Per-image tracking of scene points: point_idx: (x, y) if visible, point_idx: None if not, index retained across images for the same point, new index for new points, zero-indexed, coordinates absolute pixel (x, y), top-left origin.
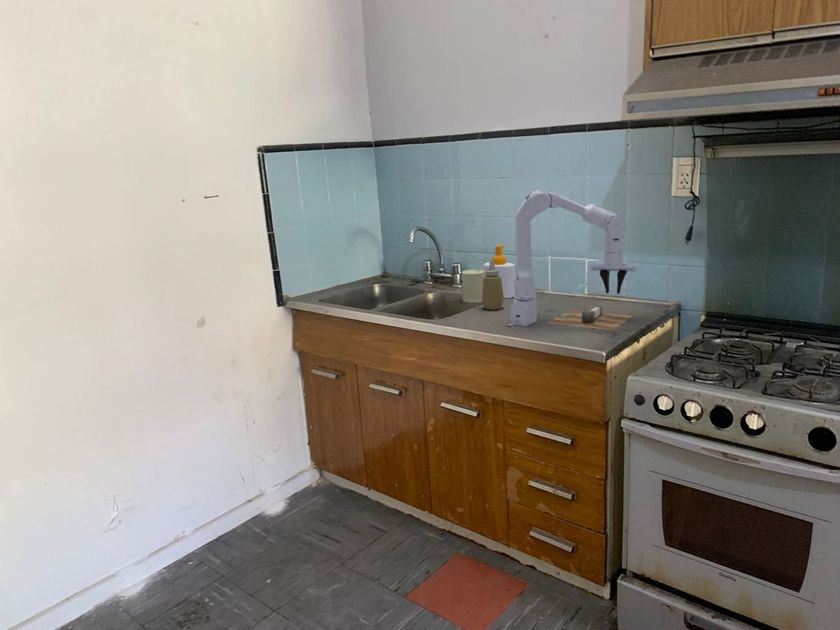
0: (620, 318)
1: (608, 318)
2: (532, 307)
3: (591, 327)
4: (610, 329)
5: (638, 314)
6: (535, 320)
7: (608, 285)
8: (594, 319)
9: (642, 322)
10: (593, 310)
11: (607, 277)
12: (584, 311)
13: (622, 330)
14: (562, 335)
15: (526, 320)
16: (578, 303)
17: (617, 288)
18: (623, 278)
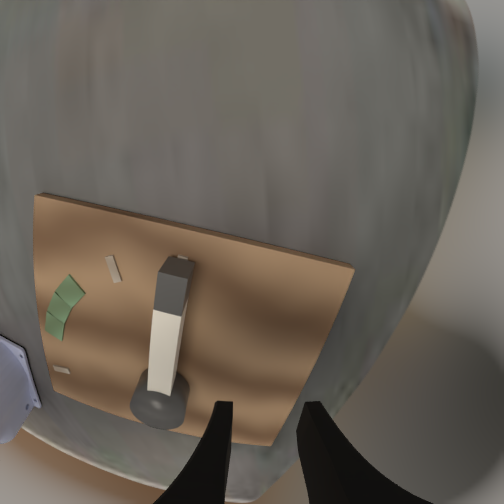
0: (296, 325)
1: (239, 333)
2: (5, 418)
3: (197, 434)
4: (261, 443)
5: (379, 169)
6: (23, 381)
7: (228, 460)
8: (188, 394)
9: (381, 312)
10: (163, 369)
11: None
12: (136, 404)
13: (298, 413)
14: (138, 452)
15: (26, 417)
16: (68, 10)
17: (304, 466)
18: (378, 488)
